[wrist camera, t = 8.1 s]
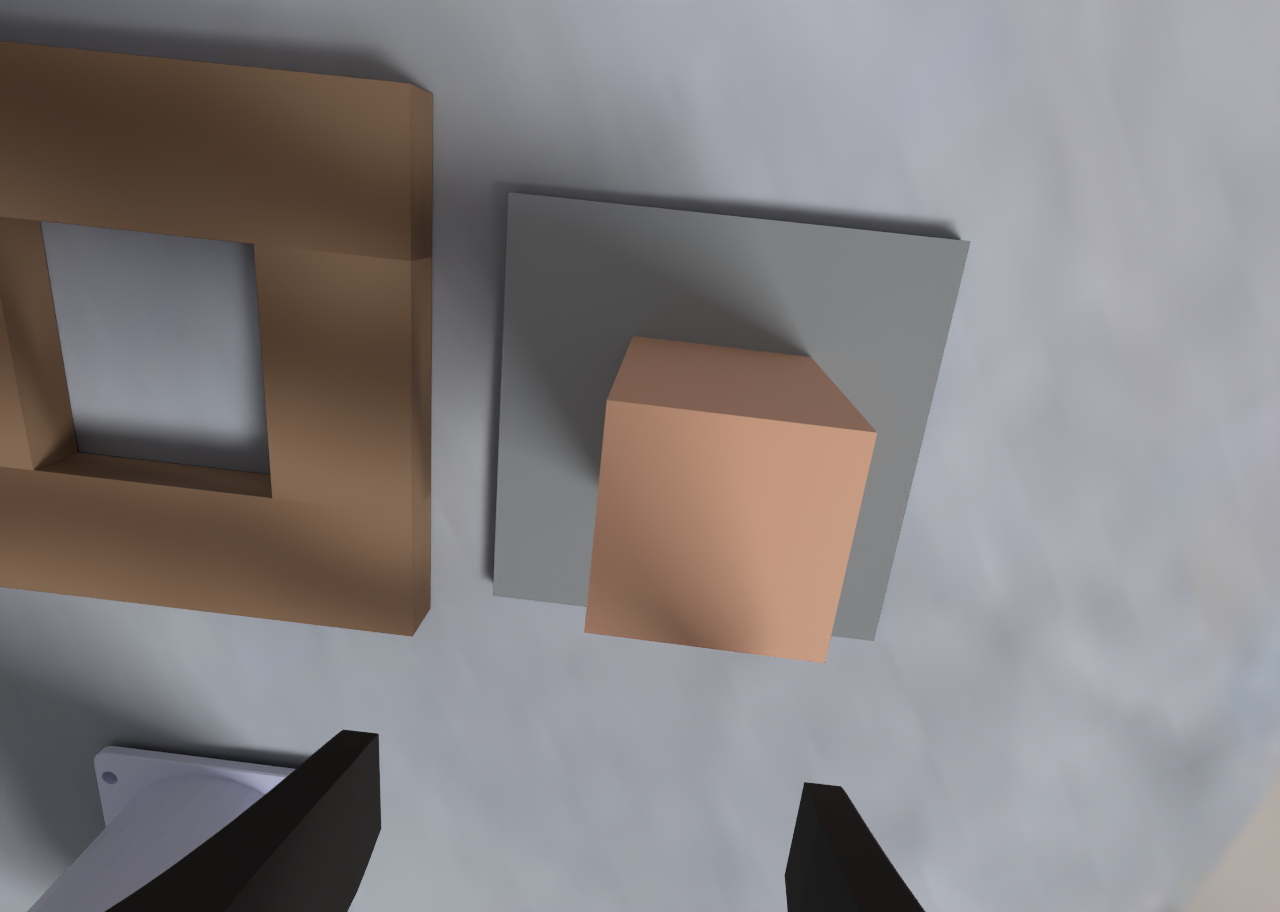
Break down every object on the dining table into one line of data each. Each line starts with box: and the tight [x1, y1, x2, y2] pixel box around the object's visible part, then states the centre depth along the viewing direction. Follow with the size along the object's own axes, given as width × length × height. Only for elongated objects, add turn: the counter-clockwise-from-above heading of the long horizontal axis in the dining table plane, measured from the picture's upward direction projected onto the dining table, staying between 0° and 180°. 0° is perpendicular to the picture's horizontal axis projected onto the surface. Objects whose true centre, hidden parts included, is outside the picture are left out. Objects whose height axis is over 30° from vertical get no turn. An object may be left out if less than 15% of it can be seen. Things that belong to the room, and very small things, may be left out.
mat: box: [493, 192, 970, 641], centre depth 19 cm, size 11×11×1 cm
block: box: [584, 336, 877, 663], centre depth 16 cm, size 4×4×6 cm
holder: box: [0, 41, 433, 636], centre depth 19 cm, size 14×14×2 cm
